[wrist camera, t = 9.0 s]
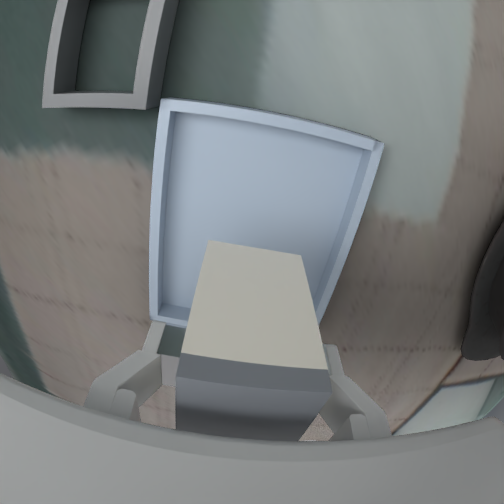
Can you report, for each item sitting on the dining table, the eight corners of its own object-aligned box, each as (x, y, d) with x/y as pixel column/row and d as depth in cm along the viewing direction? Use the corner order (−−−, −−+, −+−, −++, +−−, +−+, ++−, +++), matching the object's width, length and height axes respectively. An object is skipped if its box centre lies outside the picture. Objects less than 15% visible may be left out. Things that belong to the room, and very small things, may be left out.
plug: (301, 255, 13) (332, 392, 7) (274, 336, 16) (282, 460, 10) (208, 239, 13) (175, 375, 7) (197, 325, 15) (176, 450, 9)
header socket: (184, -21, 12) (174, -35, 10) (159, 105, 16) (145, 109, 14) (83, -13, 11) (63, -21, 9) (64, 103, 15) (42, 107, 13)
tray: (372, 137, 17) (384, 143, 15) (307, 325, 24) (310, 343, 22) (170, 97, 16) (160, 98, 14) (156, 302, 23) (150, 319, 21)
